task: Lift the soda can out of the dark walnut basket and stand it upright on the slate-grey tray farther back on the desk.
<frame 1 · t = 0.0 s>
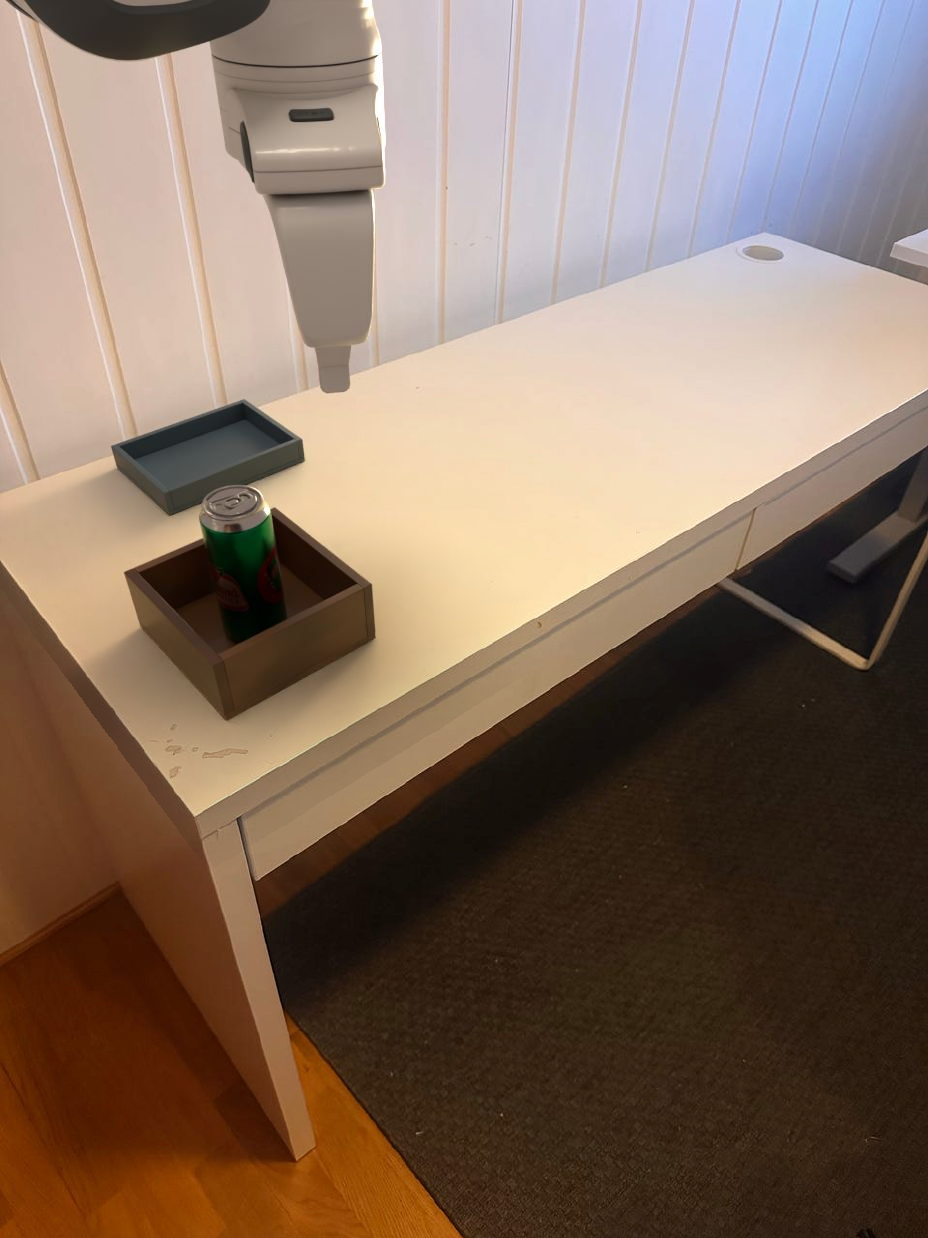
hand: (326, 354, 58), 23 cm above the table, tool pointing down, fingers open, 8 cm apart
tray: (211, 463, 91), on the table
soda can: (256, 628, 72), resting on basket
basket: (257, 632, 72), on the table
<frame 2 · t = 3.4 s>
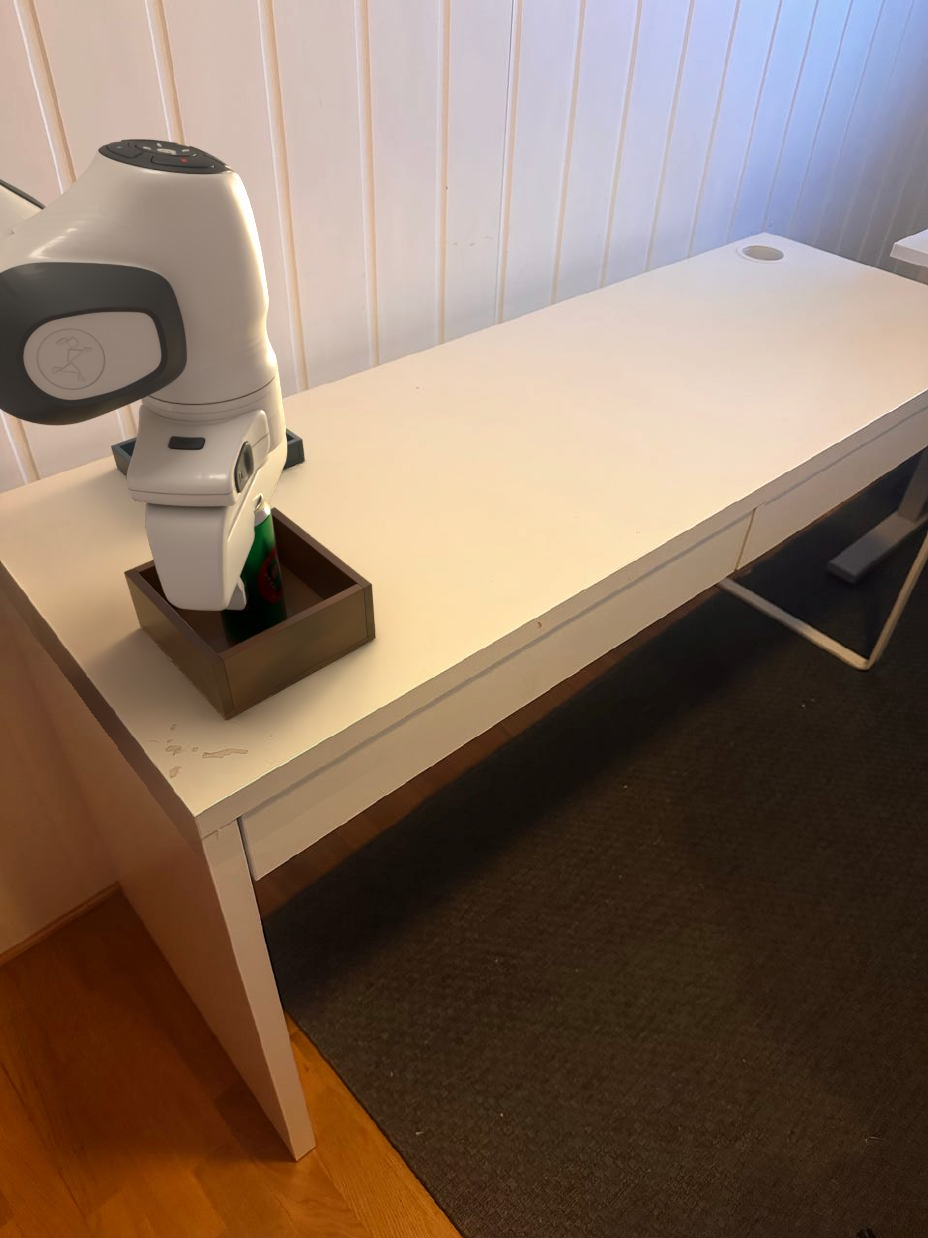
hand: (246, 576, 68), 6 cm above the table, tool pointing down, fingers closed on soda can, 5 cm apart
soda can: (256, 628, 72), resting on basket, touching gripper
when the fingers open (6 cm above the table, at t = 12.3 s): soda can stays where it is, resting on tray.
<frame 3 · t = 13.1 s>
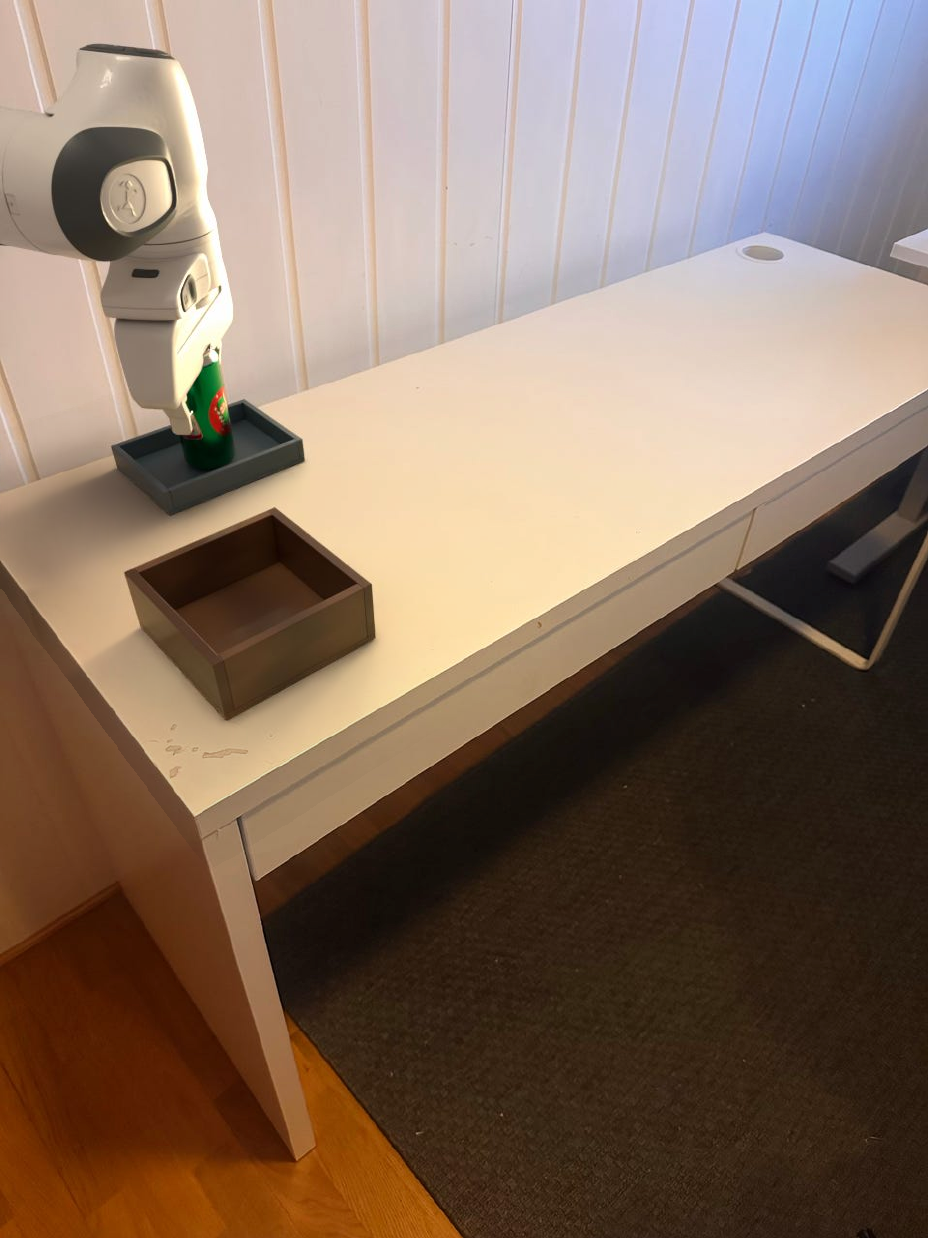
hand: (199, 406, 87), 6 cm above the table, tool pointing down, fingers open, 8 cm apart
soda can: (211, 461, 91), resting on tray
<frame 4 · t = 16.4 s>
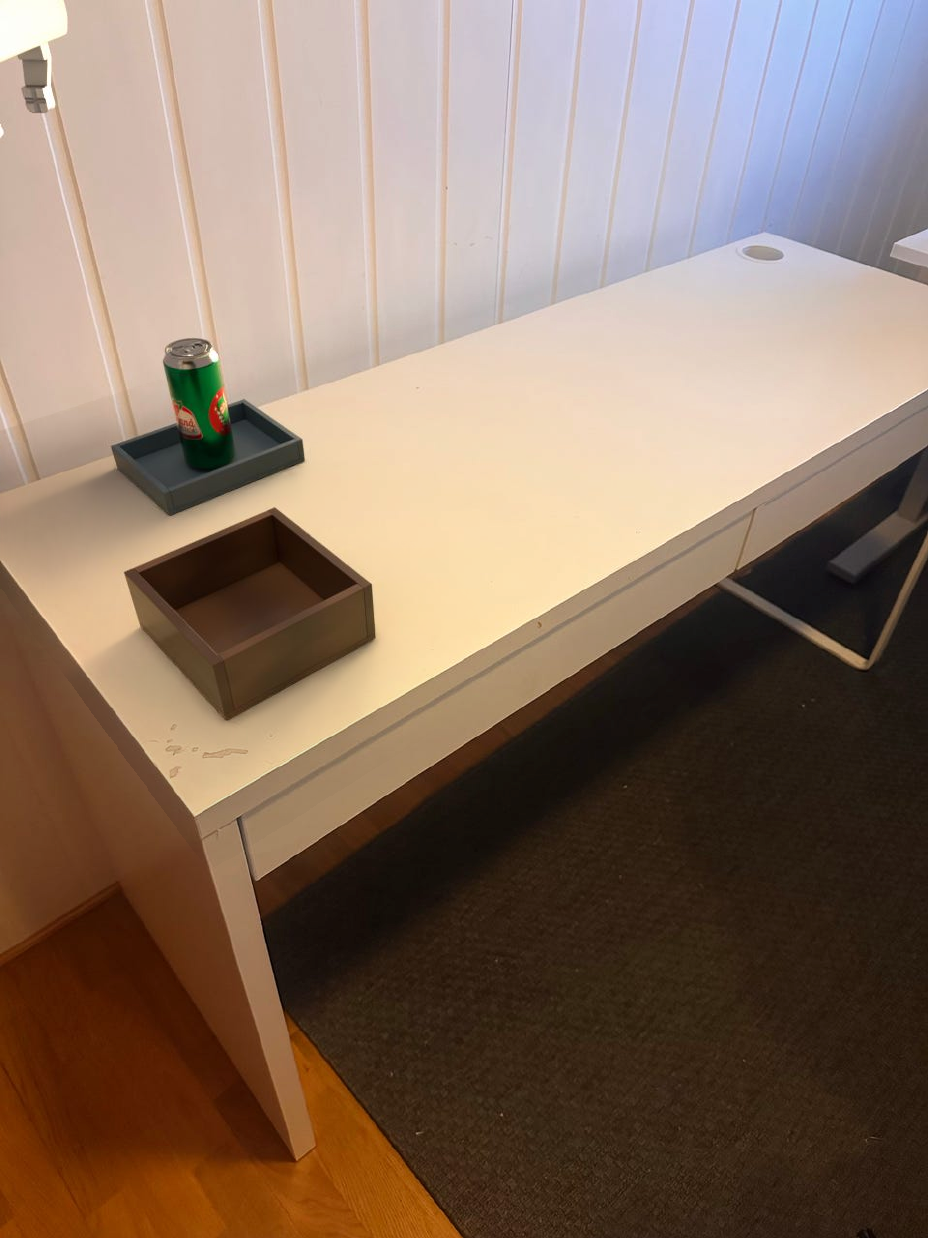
hand: (17, 125, 69), 31 cm above the table, tool pointing down, fingers open, 8 cm apart
nothing on the table moved.
at the end: soda can inside the target area in the tray (0.1 cm from its centre), point 0.3 cm above the tray's base; soda can tilted 0°; the gripper is holding nothing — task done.
